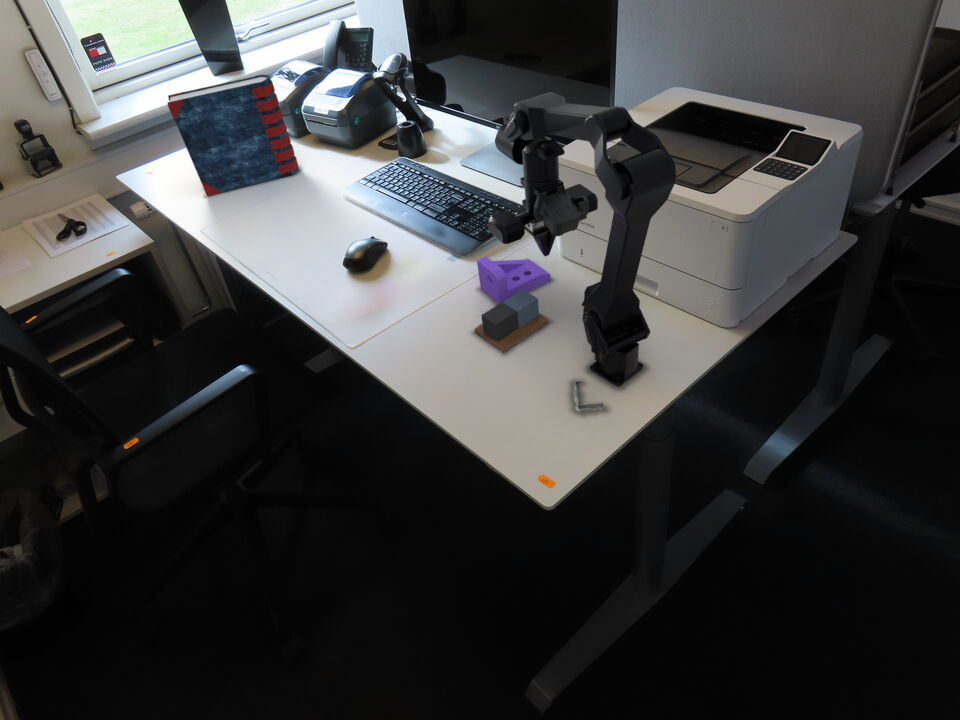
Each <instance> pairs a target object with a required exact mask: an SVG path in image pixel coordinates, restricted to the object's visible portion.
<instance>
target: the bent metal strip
mask: <svg viewBox="0 0 960 720" xmlns="http://www.w3.org/2000/svg"><path fill="white" fill-rule="evenodd" d="M574 381H575V383H573V393H572V395H573V401H574V403H575V406H574V409H575V411H576V412H578V413H579V412H580V413H586V412H594V411H603V410H604V403H603V402H599V403H596V402H595V403H580V399H579V392H578V386H577V385H578V384H580V383H582V382H583V381H582V380H576V379H575V380H574Z"/></svg>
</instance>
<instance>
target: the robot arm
mask: <svg viewBox="0 0 960 720" xmlns="http://www.w3.org/2000/svg"><path fill="white" fill-rule="evenodd" d="M513 108H514V110H513V111H512V112H511V114H509V115H506V116H503V123H502V124H501V126H499V128H498V129H497V132H496V134H495V138H494V144H495V147H496V149H497V150H498V151H499V152H500V153H501V154H503V155H504V156H505V157H507V158H508V159H509V160H511V161H512V162H514V163H515V164H517V165H521V166H522V169H523V177H520V185H522V186H523V187H524V196H525V197H524V198H525V199H522V200H521V204H522V205H521V206H522V207H524V208H525V212H522V213H518V214H514V212H512V211H511V210H509V209H507V210H505V211H504V210H503V211H501V212H499V213H496V214H494V215H491V216H490V217H489V218H488V221H487V226H488V231H489V233H491V235H493V236H494V238H496V239H497V240H498V241H499V242H500V243H501V244H502V245H509V244H513V243H515V242H517V241H520V240H522V239H523V238H524V236H525V235H526V232H527V233H528V234H529V235H530V236H532V238H533V240H534V242H535V243H536V245H537V247H538V248H539V251H540V252H541V254H542V255H543V256H544V257H545V258H546V257H547V256H550V254H551V251H552V248H553V246H554V243H555V240H556V237H561V236H563V235H564V234H566V233H569V232H574V231H576V230H577V229H578V227H579V223H580V222H581V221H583V220H586V219H587V218H588V214H590V213H592V212H595V211H597V210H598V208H599V199H598V196H597V194H596V193H594V192H593V191H591V190H590V189H588V188H587V187H585V186H584V185H582V184H581V183H577V184H575V185H572V186H569V187H567V188H565V187H566V186H565V185H564V184H565V183H564V181H562V180H561V179H560V165H559V163H560V162H559V161H560V160H559V157H561V156H563V155H565V153H566V152H565V149H564V147H563V146H562V145H561V144H559V142H558V140H557V139H556V138H550V136H556V137H560V138H566V139H572V140H578V141H584V142H589V144H590V146H591V147H592V149H593V151H594V154H593V155H594V156H593V157H594V159H593V160H594V161H593V162H594V174H595V175H596V177H597V179H598V180H599V181H600V183H601V185H602V186H603V188H604V189H605V191H604V198H605V199H606V201H607V203H608V204H609V206H610V208H611V209H612V211H613V214H612V220H611V225H610V231H609V235H608V240H607V246H606V251H605V257H604V262H603V267H602V271H601V278H600V281H598V282H595V283H594V284H591V285H588V286H587V287H586V288H585V289H584V292H583V294H584V295H583V301H582V302H581V306H582V307H583V308H582V309H583V310H582V317H581V319H582V324H583V329H584V333H585V337H586V340H587V344H588V345H590V351H591V353H593V354H594V361H595V362H593V363H592V364H590V366H589V370H590V371H591V372H593V373H595V374H596V375H598V376H599V377H601V378H602V379H605V380H606V381H608V382H609V383H611V384H612V385H614V386H616V387H617V388H618V387H621V386H623V385H624V384H626V382H628V381H629V380H631V379H632V378H633V377H634V376H635V375H637V374H638V373H639V372H640V371H642V370H643V369H644V366H645V365H644V364H643V363H642V362H640V361H639V352H640V351H639V350H640V348H639V347H640V344H639V342H641V341H643V340H647V339H648V338H649V337H650V334H651V329H650V327H649V324H648V323H647V321H646V320H647V319H646V318H645V316H644V314H643V312H642V310H641V309H642V308H641V307H640V305H641V304H640V302H641V300H640V298H639V297H638V295H637V294H636V293H635V291H634V287H635V283H636V279H637V275H638V270H639V266H640V263H641V259H642V255H643V252H644V247H645V243H646V239H647V236H648V231H649V227H650V223H651V220H652V218H653V216H655V214H656V213H657V212H658V211H659V210H660V209H661V208H662V207H663V205H664V204H665V203H666V202H667V201H668V199H669V198H670V195H671V193H672V191H673V188H674V187H675V184H676V181H677V168H676V163H675V160H674V159H673V158H672V156H671V154H670V153H669V152H668V150H667V148H666V147H665V146H664V144H663V143H662V141H661V140H660V138H659V136H658V135H657V134H655V133H654V132H652V131H651V130H649V129H647V128H645V127H644V126H642V125H641V124H639V123H637V122H636V121H635V120H634V119H633V117H632V116H631V114H630V113H629V111H628V110H627V109H626V108H625V107H624V106H617V105H615V106H612V107H609V106H607V107H606V106H599V105H589V104H588V105H587V104H577V103H568V102H566V99H565V97H564V96H563V95H560V94H558V93H556V92H553V91H549V92H546V93H543V94H540V95H537V96H534V97H530V98H527V99H524V100H521V101H518V102H515V103H514V104H513ZM618 139H620V140H621V141H622V142H623V143H625V144H626V145H627V146H629V147H631V148H633V149H634V150H636V151H637V152H639V153H638V154H635V155H632V156H630V157H627V158H624V159H622V160H618V161H615V162H612V160H611V159H610V157H609V155H608V143H610V142H613V141H616V140H618Z"/></svg>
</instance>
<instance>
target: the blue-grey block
mask: <svg viewBox="0 0 960 720" xmlns="http://www.w3.org/2000/svg"><path fill="white" fill-rule="evenodd" d="M503 303H504V304H506V305H508V306H509V307H511V308H513V309H514V310H516V311H517V317H518V327H519V329H520V328H521V327H523V326H524V325H526V324H527V323H529V322H530V321H532V320H533V319H535V318H536V317H538V316H539V314H540V308H539V298H538V297H536V296H535V295H533V294H532V293H529V291H528V292H526V291H524V290H522V291H520V292H518V293H517V294H515V295H514V296H512V297H510V298H509V299H507V300H506V301H504V302H503Z"/></svg>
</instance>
